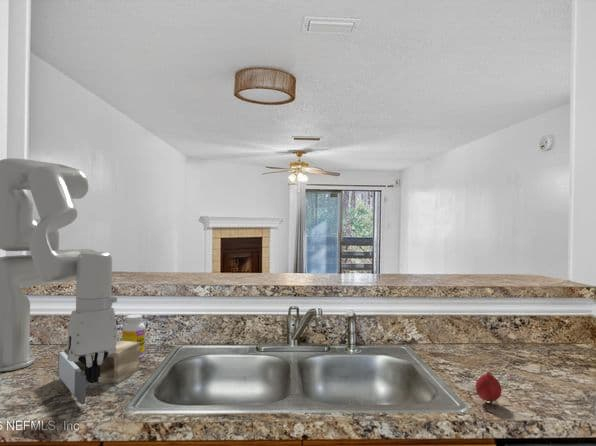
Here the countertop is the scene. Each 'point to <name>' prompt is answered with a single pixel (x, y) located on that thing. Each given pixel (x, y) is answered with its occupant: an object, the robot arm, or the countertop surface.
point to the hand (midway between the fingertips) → (92, 381)
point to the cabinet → (117, 362)
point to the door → (72, 377)
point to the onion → (488, 387)
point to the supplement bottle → (134, 331)
